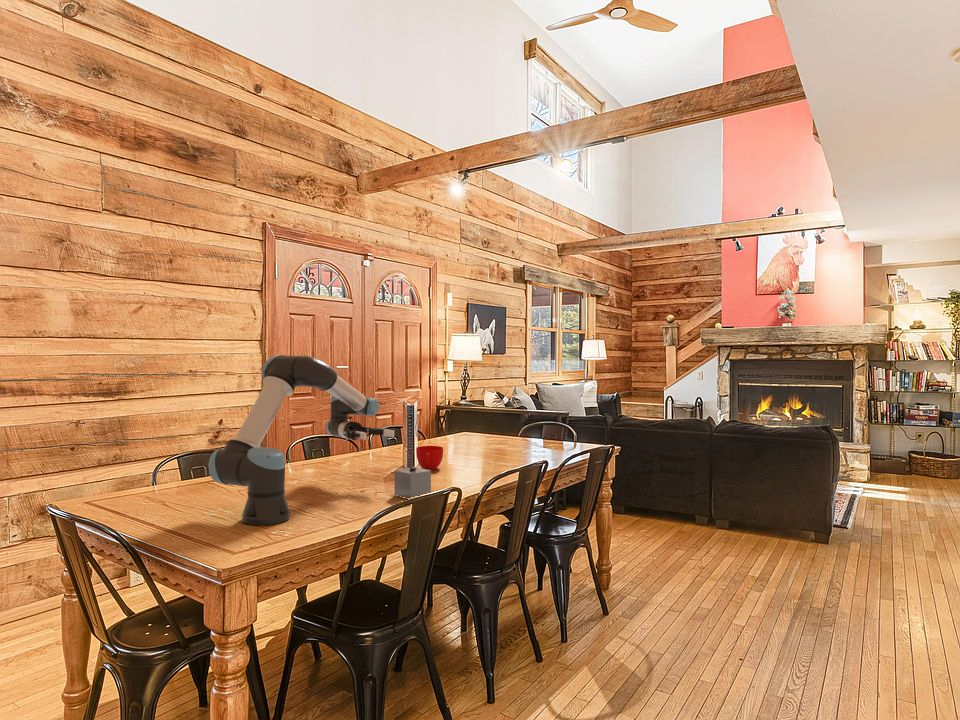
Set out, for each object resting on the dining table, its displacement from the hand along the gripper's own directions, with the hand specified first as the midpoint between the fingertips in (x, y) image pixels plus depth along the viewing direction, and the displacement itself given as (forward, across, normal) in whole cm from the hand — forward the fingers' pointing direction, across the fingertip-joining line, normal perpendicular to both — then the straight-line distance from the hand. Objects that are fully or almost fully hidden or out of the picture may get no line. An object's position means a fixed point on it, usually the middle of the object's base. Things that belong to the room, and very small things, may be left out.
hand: (379, 435), depth 243 cm
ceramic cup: (-21, -43, -22) cm, 53 cm away
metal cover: (+15, -5, -23) cm, 28 cm away
